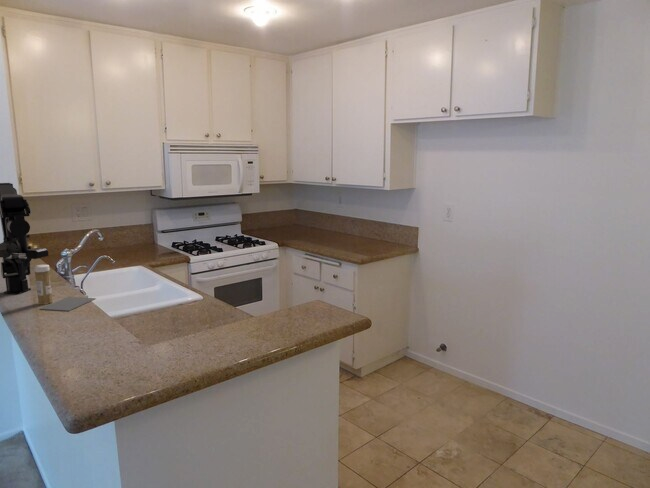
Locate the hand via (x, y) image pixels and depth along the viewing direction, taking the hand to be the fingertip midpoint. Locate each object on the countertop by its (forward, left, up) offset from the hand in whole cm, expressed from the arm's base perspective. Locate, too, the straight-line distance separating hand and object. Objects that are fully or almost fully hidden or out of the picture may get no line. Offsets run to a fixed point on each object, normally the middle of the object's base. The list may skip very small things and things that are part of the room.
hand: (21, 276), depth 163 cm
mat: (+17, 0, -9) cm, 19 cm away
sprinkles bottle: (+8, 0, -9) cm, 12 cm away
